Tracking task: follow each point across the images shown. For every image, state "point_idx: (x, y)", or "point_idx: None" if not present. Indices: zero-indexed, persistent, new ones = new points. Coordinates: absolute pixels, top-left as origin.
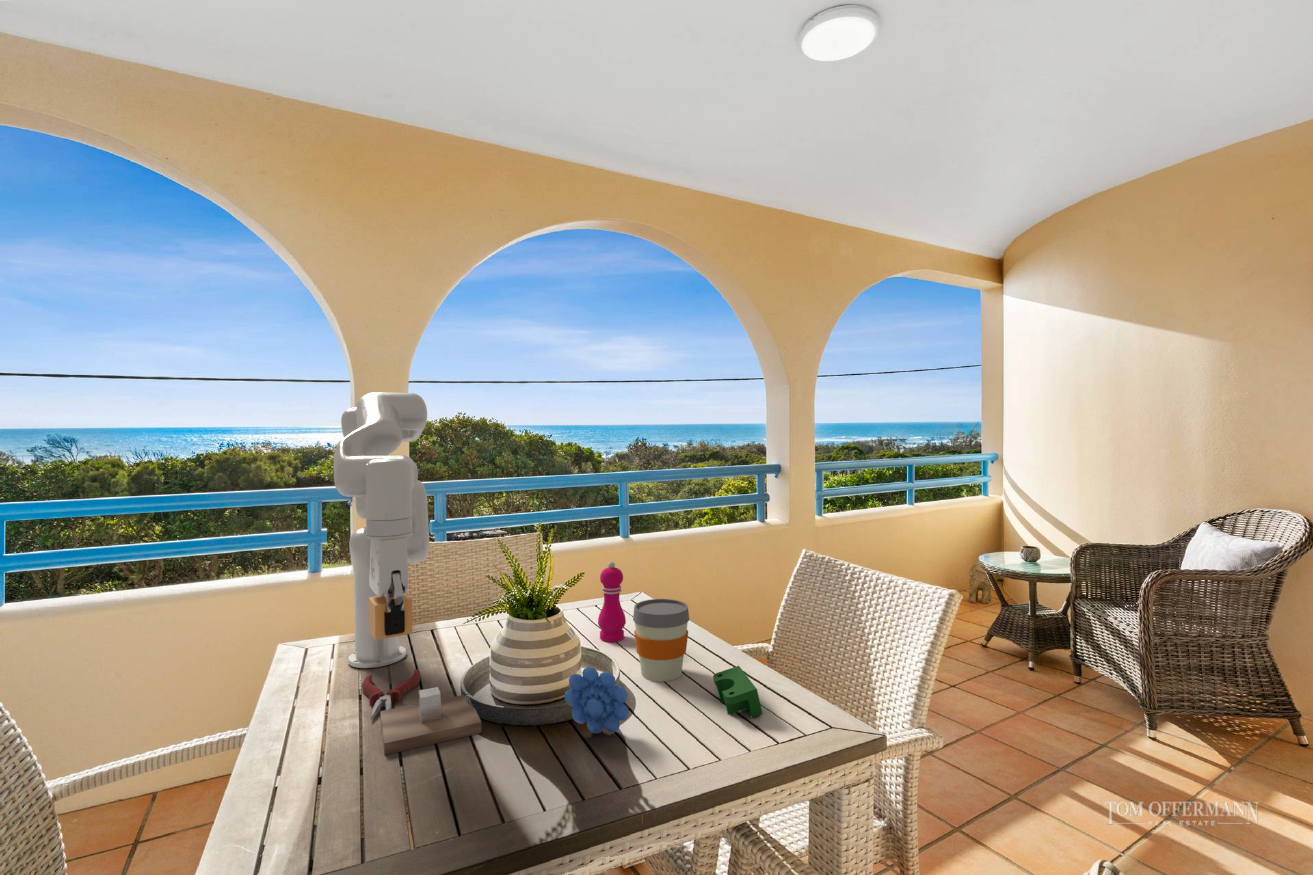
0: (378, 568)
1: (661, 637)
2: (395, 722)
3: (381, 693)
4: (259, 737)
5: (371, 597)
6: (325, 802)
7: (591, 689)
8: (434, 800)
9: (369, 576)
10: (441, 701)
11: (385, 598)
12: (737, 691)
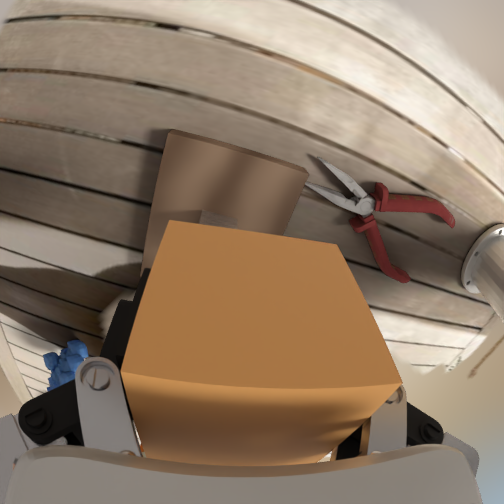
0: None
1: (142, 454)
2: (238, 176)
3: (378, 207)
4: (404, 17)
5: (384, 392)
6: (98, 28)
7: (54, 377)
8: (22, 155)
9: (474, 494)
10: None
11: (129, 445)
12: None
